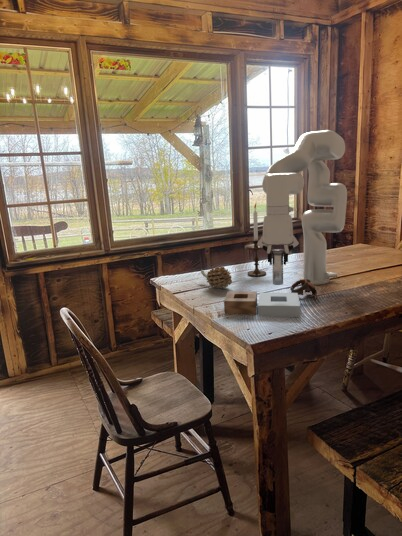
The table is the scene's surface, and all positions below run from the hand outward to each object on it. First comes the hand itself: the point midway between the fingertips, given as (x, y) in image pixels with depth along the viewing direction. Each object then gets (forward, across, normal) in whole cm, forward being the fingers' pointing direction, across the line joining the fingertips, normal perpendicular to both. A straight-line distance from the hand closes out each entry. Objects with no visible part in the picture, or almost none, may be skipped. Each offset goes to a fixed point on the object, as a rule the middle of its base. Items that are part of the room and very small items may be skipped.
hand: (277, 263), depth 128 cm
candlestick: (+17, +10, -49) cm, 52 cm away
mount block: (+17, +13, -1) cm, 22 cm away
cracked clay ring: (+17, -11, -15) cm, 25 cm away
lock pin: (+7, 0, 0) cm, 7 cm away
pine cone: (+17, +28, -29) cm, 43 cm away
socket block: (+17, 0, -1) cm, 17 cm away
